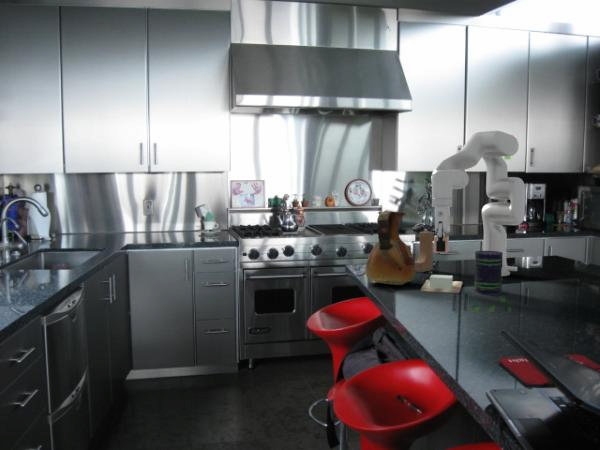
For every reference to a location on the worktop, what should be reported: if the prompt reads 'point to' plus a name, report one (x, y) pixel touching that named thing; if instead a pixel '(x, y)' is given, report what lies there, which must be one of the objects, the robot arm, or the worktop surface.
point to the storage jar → (488, 272)
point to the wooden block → (425, 253)
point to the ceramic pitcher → (390, 253)
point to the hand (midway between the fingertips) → (441, 250)
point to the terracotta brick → (445, 244)
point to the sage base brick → (441, 281)
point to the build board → (455, 288)
